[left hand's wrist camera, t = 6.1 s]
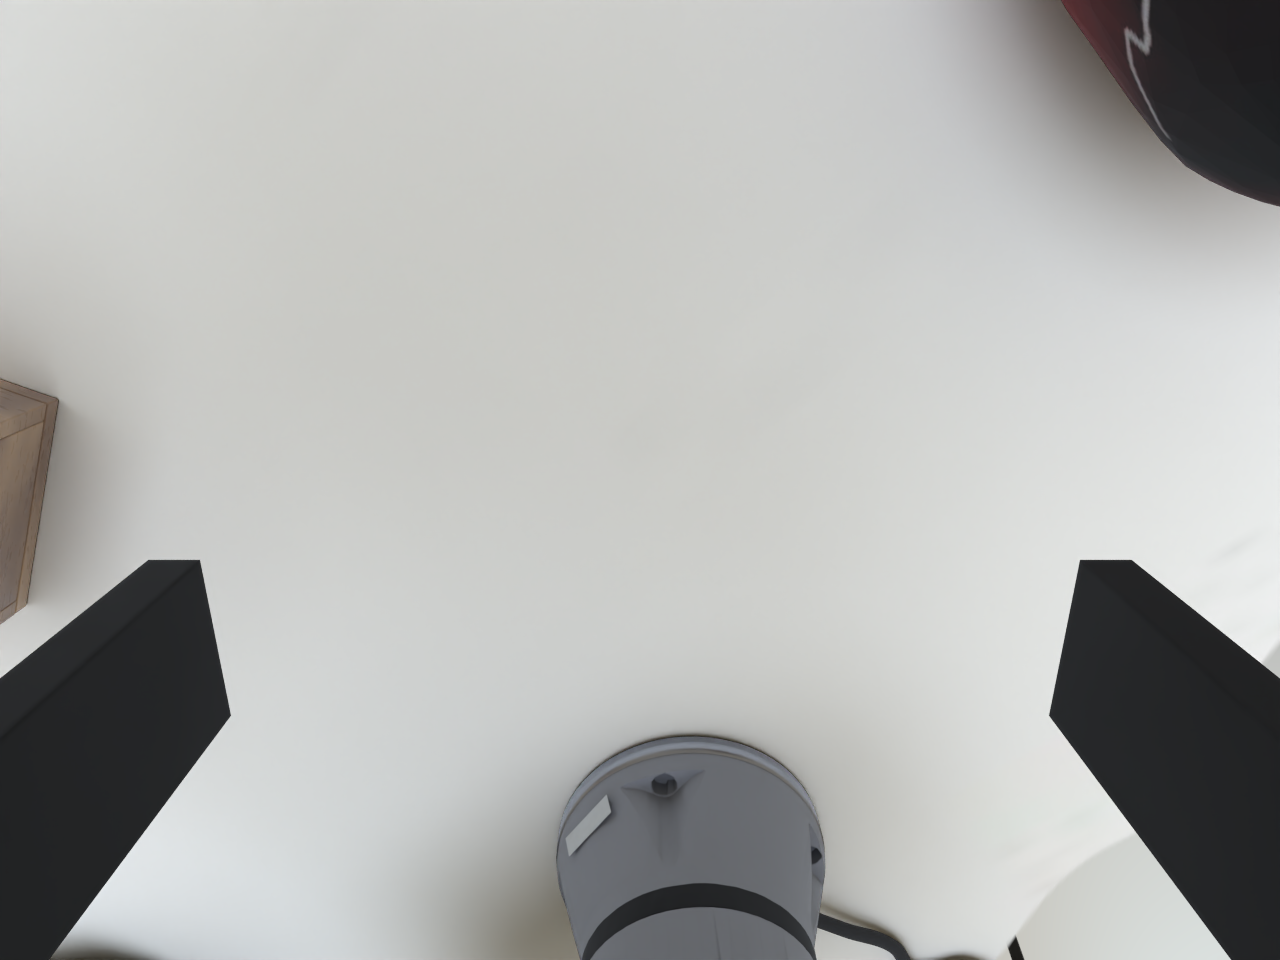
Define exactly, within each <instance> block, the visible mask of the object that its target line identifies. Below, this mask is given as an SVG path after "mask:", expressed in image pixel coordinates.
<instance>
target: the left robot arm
mask: <svg viewBox="0 0 1280 960" xmlns="http://www.w3.org/2000/svg"><path fill="white" fill-rule="evenodd" d="M230 716H231V714H230V709H229V704H228V699H227V694H226V689H225V684H224V679H223V674H222V669H221V664H220V659H219V654H218V649H217V644H216V639H215V634H214V629H213V624H212V619H211V614H210V609H209V604H208V599H207V594H206V589H205V583H204V578H203V573H202V568H201V563H200V560H148V561H147V562H145V563H144V564H143V565H142V566H140V567H139V568H138V569H137V570H135V571H134V572H133V573H132V574H130V575H129V576H128V577H127V578H125V579H124V580H123V581H122V582H120V583H119V584H118V585H117V586H115V587H114V588H113V589H112V590H110V591H109V592H108V593H107V594H105V595H104V596H103V597H102V598H100V599H99V600H98V601H97V602H95V603H94V604H93V605H92V606H90V607H89V608H88V609H87V610H85V611H84V612H83V613H82V614H80V615H79V616H78V617H77V618H75V619H74V620H73V621H72V622H70V623H69V624H68V625H67V626H65V627H64V628H63V629H62V630H60V631H59V632H58V633H57V634H55V635H54V636H53V637H52V638H50V639H49V640H48V641H47V642H45V643H44V644H43V645H42V646H40V647H39V648H38V649H37V650H35V651H34V652H33V653H32V654H30V655H29V656H28V657H27V658H25V659H24V660H23V661H22V662H20V663H19V664H18V665H16V666H15V667H14V668H13V669H11V670H10V671H9V672H8V673H6V674H5V675H4V676H3V677H1V678H0V960H49V959H50V957H51V956H52V955H53V953H54V952H55V951H56V949H57V948H58V947H59V945H60V944H61V943H62V941H63V940H64V939H65V937H66V936H67V935H68V933H69V932H70V931H71V929H72V928H73V927H74V925H75V924H76V922H77V921H78V920H79V918H80V917H81V916H82V914H83V913H84V912H85V910H86V909H87V908H88V906H89V905H90V904H91V902H92V901H93V900H94V898H95V897H96V896H97V894H98V893H99V892H100V890H101V889H102V888H103V886H104V885H105V884H106V882H107V881H108V880H109V878H110V877H111V876H112V874H113V873H114V872H115V870H116V869H117V868H118V866H119V865H120V864H121V862H122V861H123V859H124V858H125V857H126V855H127V854H128V853H129V851H130V850H131V849H132V847H133V846H134V845H135V843H136V842H137V841H138V839H139V838H140V837H141V835H142V834H143V833H144V831H145V830H146V829H147V827H148V826H149V825H150V823H151V822H152V821H153V819H154V818H155V817H156V815H157V814H158V813H159V811H160V810H161V809H162V807H163V806H164V805H165V803H166V802H167V801H168V799H169V798H170V796H171V795H172V794H173V792H174V791H175V790H176V788H177V787H178V786H179V784H180V783H181V782H182V780H183V779H184V778H185V776H186V775H187V774H188V772H189V771H190V770H191V768H192V767H193V766H194V764H195V763H196V762H197V760H198V759H199V758H200V756H201V755H202V754H203V752H204V751H205V750H206V748H207V747H208V746H209V744H210V743H211V742H212V740H213V739H214V738H215V736H216V735H217V733H218V732H219V731H220V729H221V728H222V727H223V725H224V724H225V723H226V721H227V720H228V719H229V717H230ZM1049 716H1050V717H1051V719H1052V720H1053V721H1054V723H1055V724H1056V725H1057V727H1058V728H1059V729H1060V731H1061V732H1062V733H1063V735H1064V736H1065V738H1066V739H1067V740H1068V742H1069V743H1070V744H1071V746H1072V747H1073V748H1074V750H1075V751H1076V752H1077V754H1078V755H1079V756H1080V758H1081V759H1082V760H1083V762H1084V763H1085V764H1086V766H1087V767H1088V768H1089V770H1090V771H1091V772H1092V774H1093V775H1094V776H1095V778H1096V779H1097V780H1098V782H1099V783H1100V784H1101V786H1102V787H1103V788H1104V790H1105V791H1106V792H1107V794H1108V795H1109V796H1110V798H1111V799H1112V801H1113V802H1114V803H1115V805H1116V806H1117V807H1118V809H1119V810H1120V811H1121V813H1122V814H1123V815H1124V817H1125V818H1126V819H1127V821H1128V822H1129V823H1130V825H1131V826H1132V827H1133V829H1134V830H1135V831H1136V833H1137V834H1138V835H1139V837H1140V838H1141V839H1142V841H1143V842H1144V843H1145V845H1146V846H1147V847H1148V849H1149V850H1150V851H1151V853H1152V854H1153V855H1154V857H1155V858H1156V859H1157V861H1158V862H1159V864H1160V865H1161V866H1162V868H1163V869H1164V870H1165V872H1166V873H1167V874H1168V876H1169V877H1170V878H1171V879H1172V881H1173V882H1174V884H1175V885H1176V886H1177V888H1178V889H1179V890H1180V892H1181V893H1182V894H1183V896H1184V897H1185V898H1186V900H1187V901H1188V902H1189V904H1190V905H1191V906H1192V908H1193V909H1194V910H1195V912H1196V913H1197V914H1198V916H1199V917H1200V918H1201V920H1202V921H1203V922H1204V924H1205V925H1206V927H1207V928H1208V929H1209V931H1210V932H1211V933H1212V935H1213V936H1214V937H1215V939H1216V940H1217V941H1218V943H1219V944H1220V945H1221V947H1222V948H1223V949H1224V951H1225V952H1226V953H1227V955H1228V956H1229V957H1230V959H1231V960H1280V678H1278V677H1277V676H1276V675H1275V674H1274V673H1272V672H1271V671H1270V670H1269V669H1267V668H1266V667H1265V666H1264V665H1262V664H1261V663H1260V662H1258V661H1257V660H1256V659H1255V658H1253V657H1252V656H1251V655H1250V654H1248V653H1247V652H1246V651H1245V650H1243V649H1242V648H1241V647H1240V646H1238V645H1237V644H1236V643H1235V642H1233V641H1232V640H1231V639H1230V638H1228V637H1227V636H1226V635H1225V634H1223V633H1222V632H1221V631H1220V630H1218V629H1217V628H1216V627H1215V626H1213V625H1212V624H1211V623H1210V622H1208V621H1207V620H1206V619H1205V618H1203V617H1202V616H1201V615H1200V614H1198V613H1197V612H1196V611H1195V610H1193V609H1192V608H1191V607H1190V606H1188V605H1187V604H1186V603H1185V602H1183V601H1182V600H1181V599H1180V598H1178V597H1177V596H1176V595H1175V594H1173V593H1172V592H1171V591H1170V590H1168V589H1167V588H1166V587H1165V586H1163V585H1162V584H1161V583H1160V582H1158V581H1157V580H1156V579H1155V578H1153V577H1152V576H1151V575H1150V574H1148V573H1147V572H1146V571H1145V570H1143V569H1142V568H1141V567H1140V566H1138V565H1137V564H1136V563H1135V562H1133V561H1132V560H1080V563H1079V568H1078V573H1077V578H1076V583H1075V589H1074V594H1073V599H1072V604H1071V609H1070V614H1069V619H1068V624H1067V629H1066V634H1065V639H1064V644H1063V649H1062V654H1061V659H1060V664H1059V669H1058V674H1057V679H1056V684H1055V689H1054V694H1053V699H1052V704H1051V709H1050V714H1049Z"/></svg>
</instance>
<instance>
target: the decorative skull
mask: <svg viewBox="0 0 1280 960" xmlns="http://www.w3.org/2000/svg"><path fill="white" fill-rule="evenodd" d="M1061 1H1062V3H1063V4H1064V6H1065V8H1066V9H1067V11H1068V13H1069V14H1070V15H1071V17H1072V18H1073V20H1074V21H1075V22H1076V24H1077V25H1078V27H1079V28H1080V29H1081V31H1082V32H1083V34H1084V35H1085V36H1086V38H1087V39H1088V41H1089V42H1090V44H1091V45H1092V46H1093V48H1094V49H1095V51H1096V52H1097V53H1098V55H1099V56H1100V58H1101V59H1102V61H1103V62H1104V63H1105V65H1106V66H1107V68H1108V69H1109V71H1110V72H1111V74H1112V75H1113V76H1114V78H1115V79H1116V81H1117V82H1118V84H1119V85H1120V87H1121V88H1122V89H1123V91H1124V92H1125V94H1126V95H1127V97H1128V98H1129V100H1130V101H1131V102H1132V104H1133V105H1134V106H1135V108H1136V109H1137V110H1138V111H1139V113H1140V114H1141V115H1142V117H1143V118H1144V119H1145V121H1146V122H1147V123H1148V125H1149V126H1150V127H1151V128H1152V130H1153V131H1154V132H1155V134H1156V135H1157V136H1158V138H1159V139H1160V140H1161V141H1162V142H1163V143H1164V144H1165V145H1166V146H1167V147H1168V148H1169V149H1170V150H1171V151H1172V152H1173V153H1174V154H1175V156H1176V157H1177V158H1178V159H1179V160H1180V161H1181V162H1182V163H1183V164H1184V165H1185V166H1186V167H1188V168H1190V169H1191V170H1193V171H1195V172H1196V173H1198V174H1200V175H1201V176H1203V177H1205V178H1206V179H1208V180H1210V181H1212V182H1214V183H1216V184H1218V185H1220V186H1223V187H1225V188H1227V189H1229V190H1231V191H1233V192H1236V193H1239V194H1242V195H1244V196H1247V197H1250V198H1253V199H1255V200H1258V201H1261V202H1265V203H1268V204H1272V205H1276V206H1280V0H1061Z"/></svg>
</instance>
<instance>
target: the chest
mask: <svg viewBox="0 0 1280 960" xmlns="http://www.w3.org/2000/svg"><path fill="white" fill-rule="evenodd" d="M57 406H58V399H56V398H53V397H50V396H47V395H44V394H41V393H38V392H36V391H33V390H30V389H27V388H24V387H21V386H18V385H15V384H13V383H10V382H7V381H4V380H1V379H0V624H2V623H3V622H4V621H6V620H7V619H9V618H10V617H11V616H13V615H14V614H15V613H17V612H18V611H19V610H21V609H22V608H23V607H25V606H26V602H27V596H28V589H29V583H30V577H31V570H32V564H33V558H34V552H35V545H36V539H37V533H38V526H39V520H40V514H41V507H42V501H43V495H44V488H45V482H46V476H47V469H48V463H49V457H50V450H51V444H52V438H53V431H54V425H55V419H56V412H57Z"/></svg>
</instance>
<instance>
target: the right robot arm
mask: <svg viewBox="0 0 1280 960" xmlns="http://www.w3.org/2000/svg"><path fill="white" fill-rule="evenodd" d="M557 871H558V882H559V887H560V891H561V895H562V897H563V900H564V903H565V905H566V908H567V911H568V915H569V919H570V923H571V927H572V931H573V935H574V938H575V942H576V946H577V949H578V953H579V956H580V960H816V955H815V950H814V945H815V939H816V932H817V928H820V929H823V930H825V931H828V932H831V933H834V934H836V935H839V936H842V937H845V938H848V939H851V940H855V941H859V942H863V943H867V944H871V945H875V946H878V947H880V948H883V949H885V950H887V951H889V952H890V953H891V954H892V955H893V956H894V957H895V959H896V960H911V959H910V958H909V956H908V954H907V952H906V950H905V949H904V947H903V946H902V945H901V944H900V943H899V942H897V941H896V940H894V939H893V938H891V937H889V936H887V935H885V934H883V933H880V932H878V931H874V930H871V929H867V928H863V927H859V926H855V925H852V924H848V923H845V922H843V921H840V920H837V919H834V918H832V917H829V916H826V915H823V914H821V913H819V911H820V904H821V898H822V890H823V883H824V876H825V854H824V842H823V836H822V833H821V829H820V825H819V822H818V818H817V814H816V811H815V808H814V806H813V804H812V801H811V799H810V797H809V796H808V794H807V792H806V791H805V789H804V788H803V787H802V785H801V784H800V782H799V781H798V780H797V779H796V778H795V777H794V776H793V775H792V774H791V773H790V772H789V771H788V770H787V769H786V768H784V767H783V766H782V765H781V764H779V763H778V762H776V761H775V760H774V759H772V758H770V757H769V756H767V755H765V754H763V753H762V752H759V751H757V750H755V749H753V748H751V747H748V746H745V745H742V744H739V743H736V742H732V741H728V740H723V739H717V738H710V737H673V738H666V739H660V740H656V741H652V742H648V743H644V744H641V745H638V746H635V747H633V748H630V749H628V750H626V751H624V752H621V753H620V754H618V755H616V756H614V757H612V758H611V759H609V760H608V761H606V762H605V763H603V764H602V765H600V766H599V767H598V768H597V769H595V770H594V771H593V772H592V773H591V774H590V775H589V776H588V777H587V778H586V779H585V780H584V781H583V782H582V783H581V784H580V786H579V787H578V788H577V789H576V791H575V792H574V794H573V795H572V797H571V799H570V800H569V802H568V804H567V806H566V809H565V811H564V814H563V817H562V820H561V825H560V829H559V838H558V846H557ZM1007 947H1008V950H1009V953H1010V956H1011V959H1012V960H1024V957H1023V954H1022V951H1021V948H1020V946H1019V943H1018V940H1017V937H1016V935H1015V937H1014V938H1013V940H1012V941H1011V942H1010V944H1009V945H1008V946H1007Z"/></svg>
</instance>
